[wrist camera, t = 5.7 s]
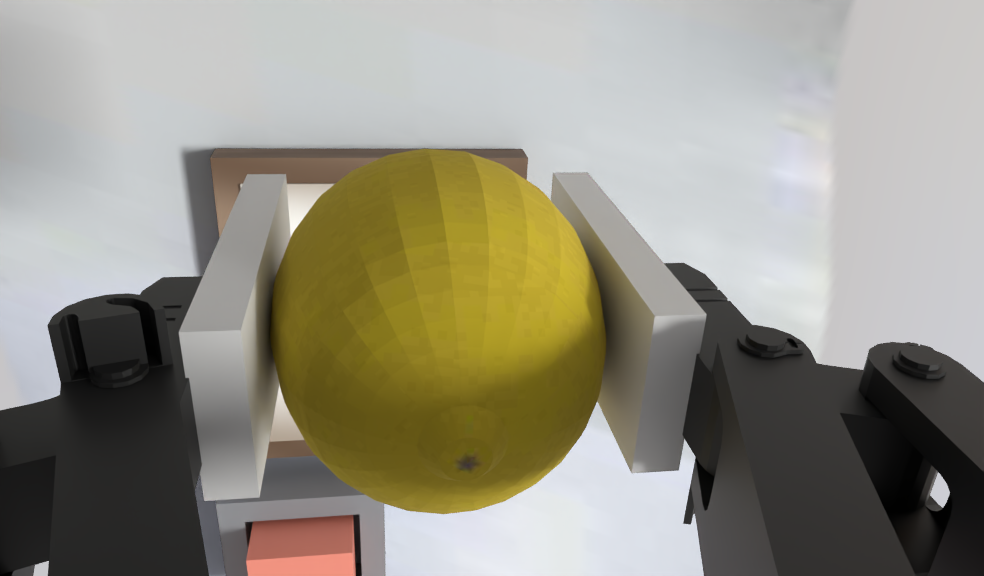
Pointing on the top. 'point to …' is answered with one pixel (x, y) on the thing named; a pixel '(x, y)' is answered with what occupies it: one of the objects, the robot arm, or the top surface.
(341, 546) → the button
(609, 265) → the robot arm
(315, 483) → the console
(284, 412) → the board
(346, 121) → the top surface
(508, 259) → the lemon
